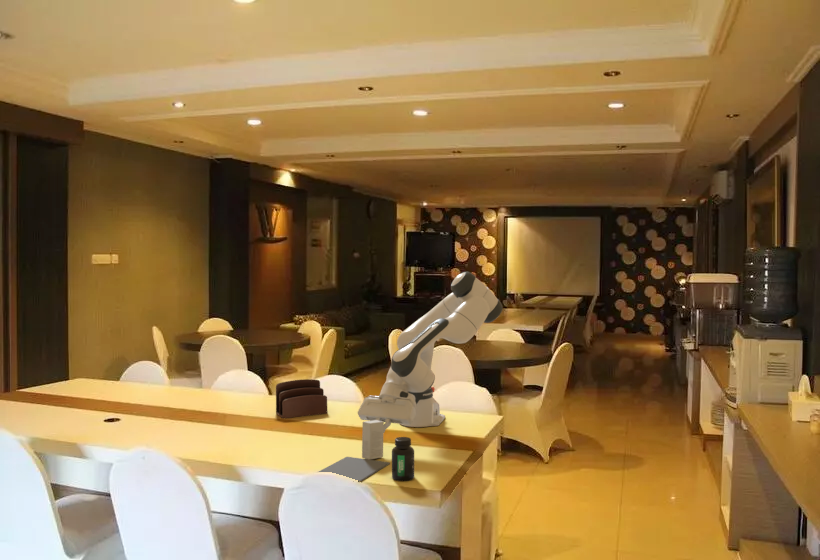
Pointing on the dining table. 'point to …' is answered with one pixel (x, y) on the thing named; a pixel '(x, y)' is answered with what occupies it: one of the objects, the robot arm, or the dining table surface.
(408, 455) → the supplement bottle
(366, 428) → the skincare box
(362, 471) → the mat
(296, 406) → the letter holder
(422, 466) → the dining table surface
